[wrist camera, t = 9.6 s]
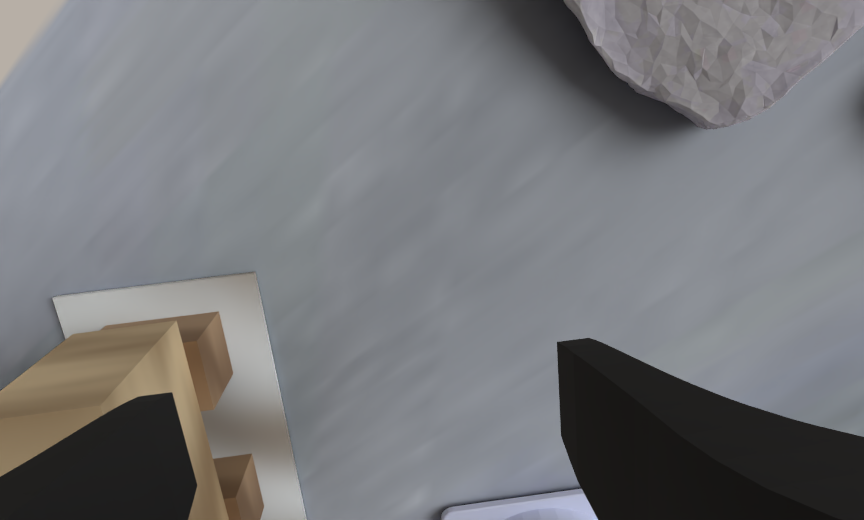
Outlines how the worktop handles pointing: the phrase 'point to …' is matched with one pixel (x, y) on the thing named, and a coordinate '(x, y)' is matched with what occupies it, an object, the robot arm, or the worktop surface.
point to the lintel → (107, 398)
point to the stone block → (716, 49)
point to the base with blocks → (216, 379)
